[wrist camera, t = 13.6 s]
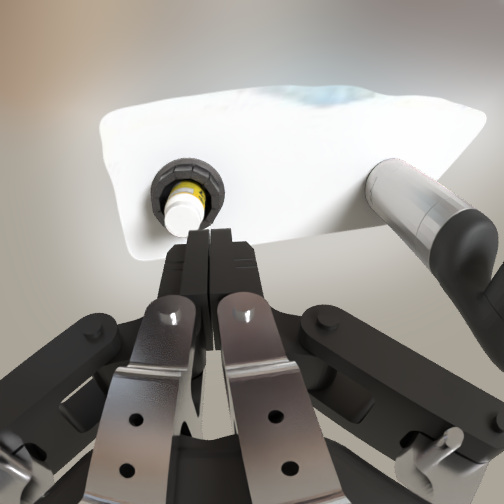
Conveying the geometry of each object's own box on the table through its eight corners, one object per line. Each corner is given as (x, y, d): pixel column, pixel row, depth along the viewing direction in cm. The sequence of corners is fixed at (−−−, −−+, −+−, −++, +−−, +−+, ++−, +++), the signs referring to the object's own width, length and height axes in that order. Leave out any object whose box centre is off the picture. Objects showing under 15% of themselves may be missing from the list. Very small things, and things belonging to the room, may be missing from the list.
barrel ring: (223, 156, 38) (224, 163, 35) (225, 224, 43) (226, 236, 40) (147, 160, 37) (142, 168, 34) (156, 227, 42) (152, 239, 39)
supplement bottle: (206, 210, 41) (203, 241, 34) (172, 210, 40) (162, 241, 33) (206, 177, 38) (203, 202, 31) (170, 177, 38) (159, 202, 31)
